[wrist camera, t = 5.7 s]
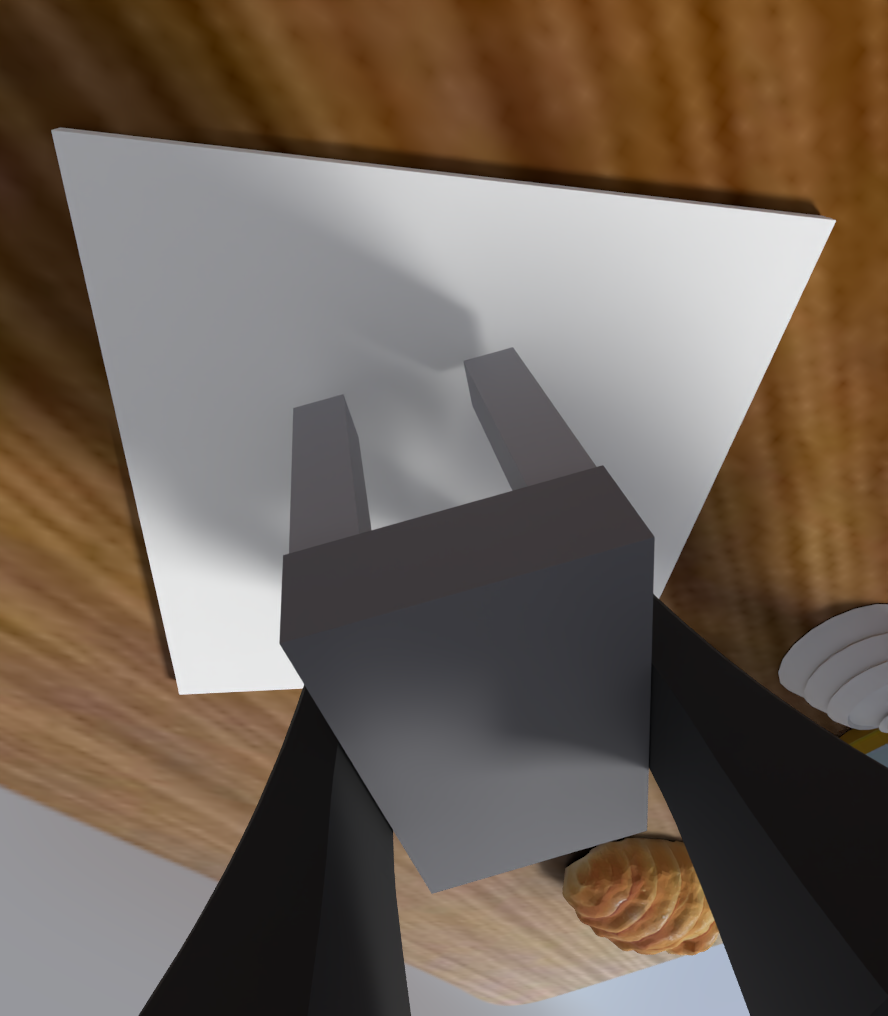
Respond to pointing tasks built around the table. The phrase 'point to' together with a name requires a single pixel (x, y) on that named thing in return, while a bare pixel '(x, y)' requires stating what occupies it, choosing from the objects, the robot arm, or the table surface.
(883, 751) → the bottle
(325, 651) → the stool
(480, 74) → the table surface
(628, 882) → the pastry
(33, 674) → the table surface
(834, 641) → the chalice
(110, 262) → the mat
